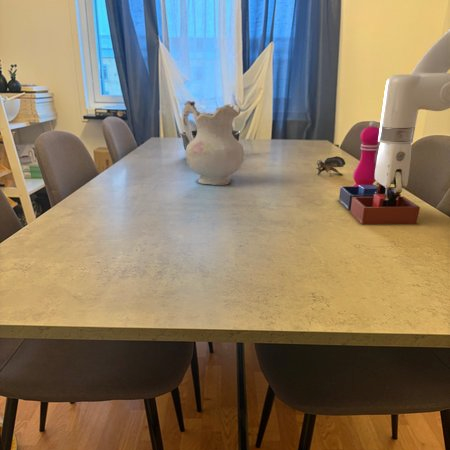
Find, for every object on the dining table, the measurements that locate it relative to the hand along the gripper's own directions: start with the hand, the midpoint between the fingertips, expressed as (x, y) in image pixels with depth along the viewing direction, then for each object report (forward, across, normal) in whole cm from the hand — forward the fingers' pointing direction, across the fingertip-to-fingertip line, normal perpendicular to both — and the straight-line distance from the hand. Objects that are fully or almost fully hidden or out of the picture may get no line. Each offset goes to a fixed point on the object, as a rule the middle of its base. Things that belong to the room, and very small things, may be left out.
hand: (383, 212), depth 107 cm
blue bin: (+1, +12, 0) cm, 12 cm away
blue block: (+1, +12, 0) cm, 12 cm away
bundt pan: (+1, +97, +44) cm, 106 cm away
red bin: (+1, 0, 0) cm, 1 cm away
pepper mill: (+2, +29, -4) cm, 29 cm away
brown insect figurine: (+2, +53, +1) cm, 53 cm away
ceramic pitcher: (+1, +45, +43) cm, 62 cm away
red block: (0, 0, 0) cm, 0 cm away
